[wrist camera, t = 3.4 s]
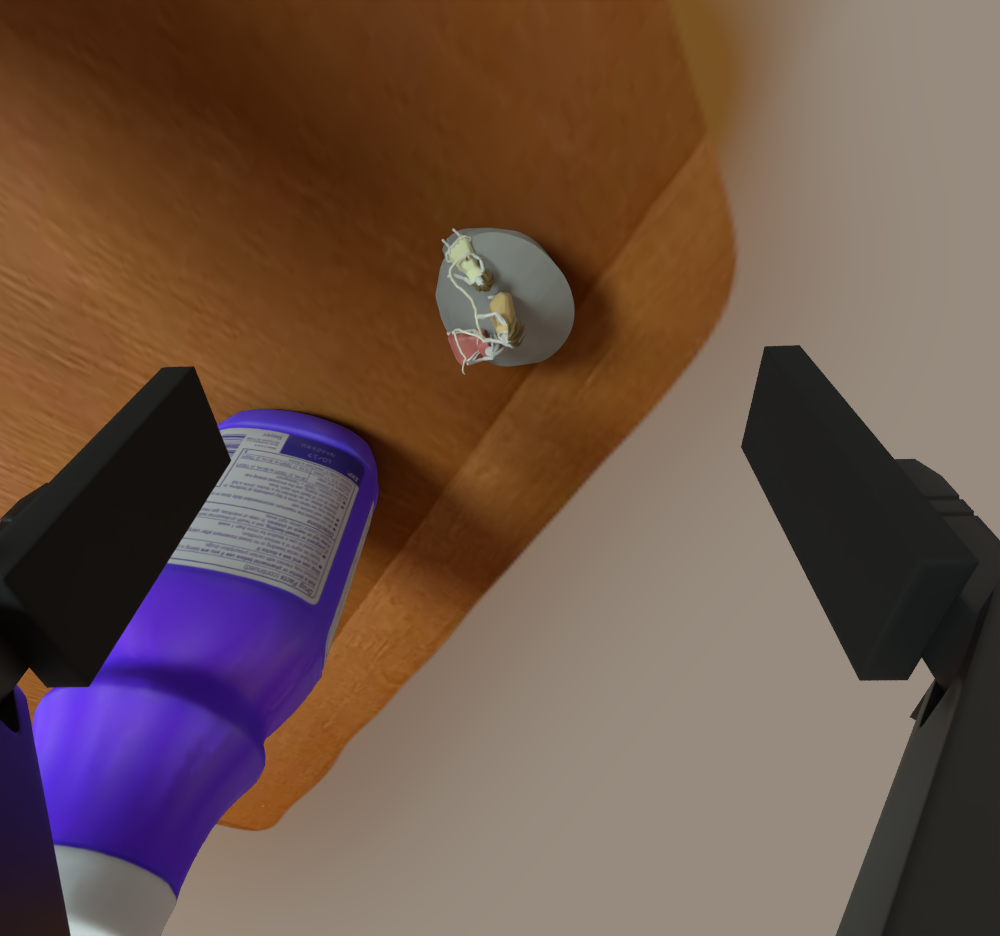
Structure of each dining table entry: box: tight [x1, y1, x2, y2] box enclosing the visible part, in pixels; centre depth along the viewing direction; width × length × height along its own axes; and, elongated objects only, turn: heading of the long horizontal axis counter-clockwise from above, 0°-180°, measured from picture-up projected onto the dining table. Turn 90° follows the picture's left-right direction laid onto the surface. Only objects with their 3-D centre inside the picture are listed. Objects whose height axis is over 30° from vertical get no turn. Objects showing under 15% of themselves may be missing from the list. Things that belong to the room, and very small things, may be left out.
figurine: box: [436, 228, 575, 375], centre depth 19 cm, size 5×4×6 cm
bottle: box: [32, 409, 379, 936], centre depth 19 cm, size 7×6×17 cm
